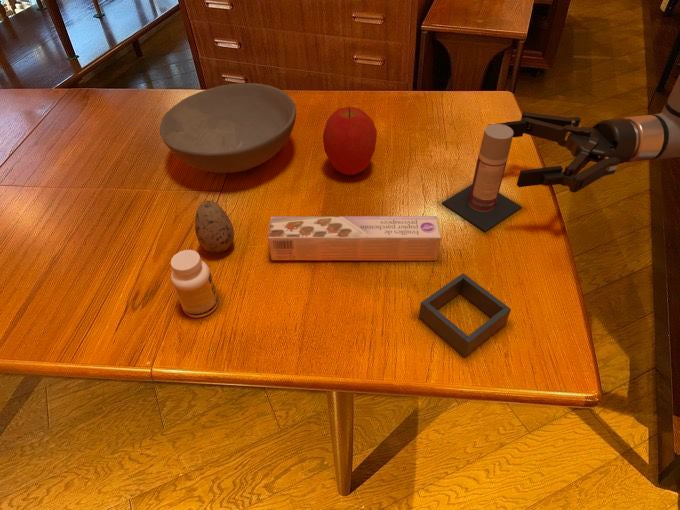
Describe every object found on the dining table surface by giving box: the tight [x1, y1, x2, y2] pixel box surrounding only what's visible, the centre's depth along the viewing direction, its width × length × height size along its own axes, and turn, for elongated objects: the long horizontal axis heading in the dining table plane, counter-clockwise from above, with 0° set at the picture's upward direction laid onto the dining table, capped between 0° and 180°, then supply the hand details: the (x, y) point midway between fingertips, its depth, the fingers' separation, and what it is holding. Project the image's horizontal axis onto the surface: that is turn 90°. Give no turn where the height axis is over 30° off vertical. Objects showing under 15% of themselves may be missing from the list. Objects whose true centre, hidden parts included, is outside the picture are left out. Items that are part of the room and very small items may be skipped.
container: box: [469, 123, 514, 213], centre depth 82 cm, size 5×5×15 cm
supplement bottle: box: [170, 249, 219, 318], centre depth 70 cm, size 5×5×10 cm
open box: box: [418, 272, 512, 358], centre depth 69 cm, size 9×9×4 cm
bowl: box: [159, 82, 297, 174], centre depth 97 cm, size 26×26×10 cm
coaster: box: [441, 184, 523, 233], centre depth 88 cm, size 10×10×1 cm
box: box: [267, 215, 442, 261], centre depth 79 cm, size 27×5×6 cm, turn 89°
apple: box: [322, 105, 378, 176], centre depth 92 cm, size 10×10×14 cm
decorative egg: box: [194, 200, 235, 254], centre depth 78 cm, size 6×6×10 cm
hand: (502, 154), depth 80 cm, fingers open, 13 cm apart
